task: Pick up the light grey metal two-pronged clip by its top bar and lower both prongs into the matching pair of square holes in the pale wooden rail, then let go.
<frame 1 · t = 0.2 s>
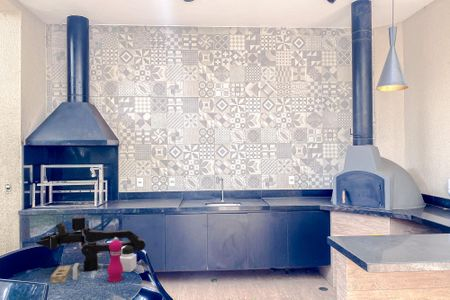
hand: (38, 240, 174), 16 cm above the table, tool horizontal, fingers open, 9 cm apart
clip: (76, 277, 166), on the table
medicine bottle: (127, 269, 179), on the table
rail: (61, 277, 167), on the table
pepper mill: (115, 280, 163), on the table
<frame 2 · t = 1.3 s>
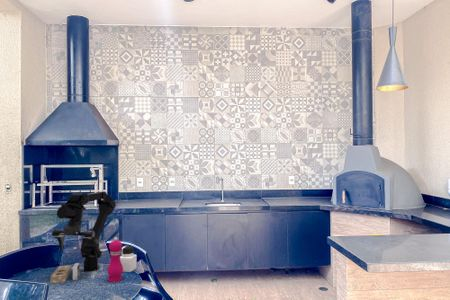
hand: (71, 251, 166), 13 cm above the table, tool pointing down, fingers open, 9 cm apart
nothing on the table moved.
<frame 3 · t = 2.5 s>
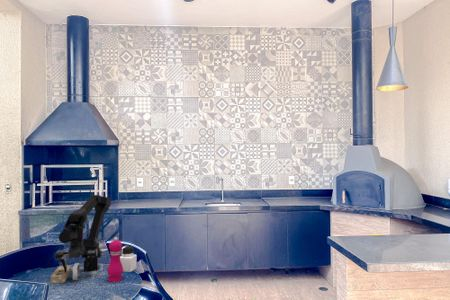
hand: (76, 271, 166), 3 cm above the table, tool pointing down, fingers open, 9 cm apart
nothing on the table moved.
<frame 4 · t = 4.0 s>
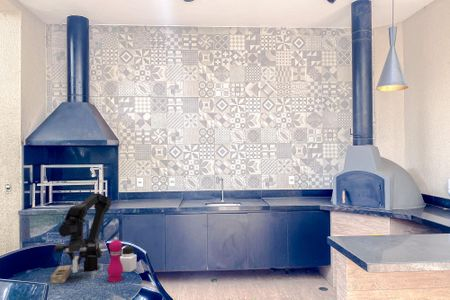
hand: (76, 265, 166), 6 cm above the table, tool pointing down, fingers closed on clip
clip: (76, 270, 166), point 3 cm above the table, touching gripper
everything else where it was.
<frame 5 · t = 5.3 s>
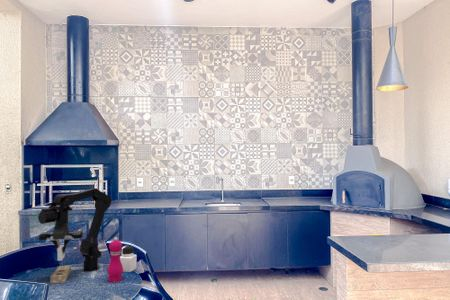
hand: (61, 253, 165), 12 cm above the table, tool pointing down, fingers closed on clip
clip: (61, 258, 165), point 9 cm above the table, touching gripper
everything else where it was.
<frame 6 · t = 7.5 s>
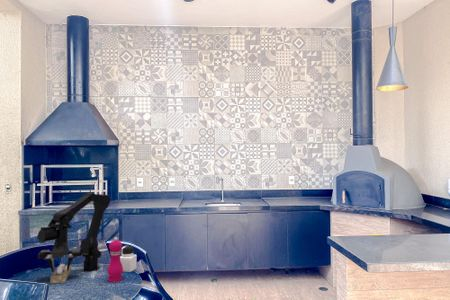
hand: (60, 271, 164), 3 cm above the table, tool pointing down, fingers open, 6 cm apart
clip: (60, 278, 164), resting in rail
everything else where it was.
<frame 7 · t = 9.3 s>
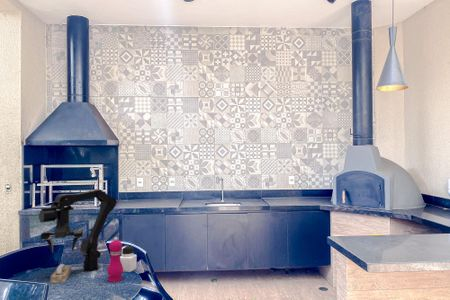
hand: (62, 251, 169), 12 cm above the table, tool pointing down, fingers open, 9 cm apart
nothing on the table moved.
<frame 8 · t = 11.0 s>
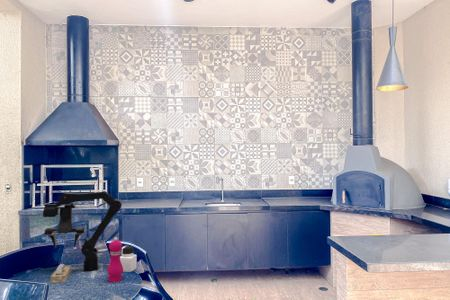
hand: (65, 247, 177), 12 cm above the table, tool pointing down, fingers open, 9 cm apart
nothing on the table moved.
at the end: clip 0.1 cm from the target spot on the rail, point 0.0 cm above the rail's base; the gripper is holding nothing; clip tilted 0° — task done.
